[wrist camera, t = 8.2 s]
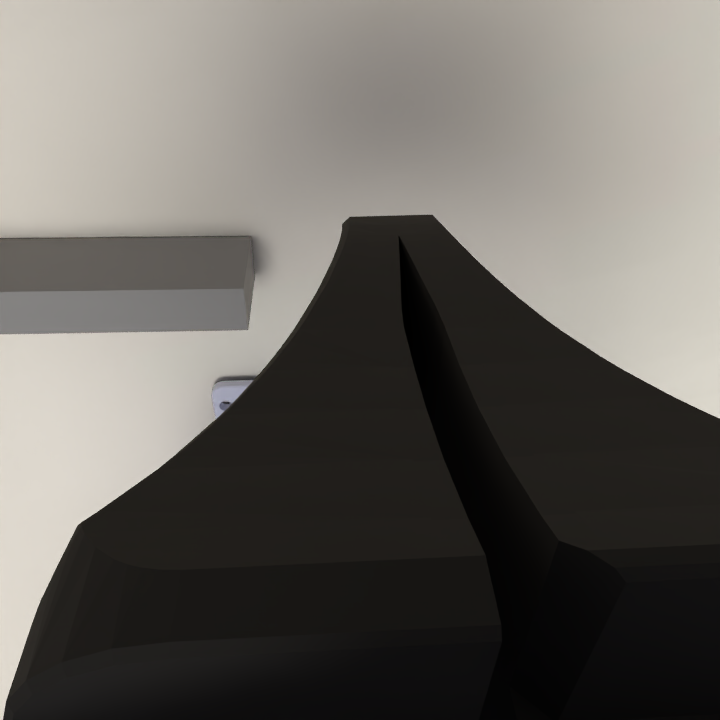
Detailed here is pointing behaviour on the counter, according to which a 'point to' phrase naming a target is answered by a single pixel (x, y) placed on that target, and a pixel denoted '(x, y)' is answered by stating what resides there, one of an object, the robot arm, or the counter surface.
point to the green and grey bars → (125, 284)
